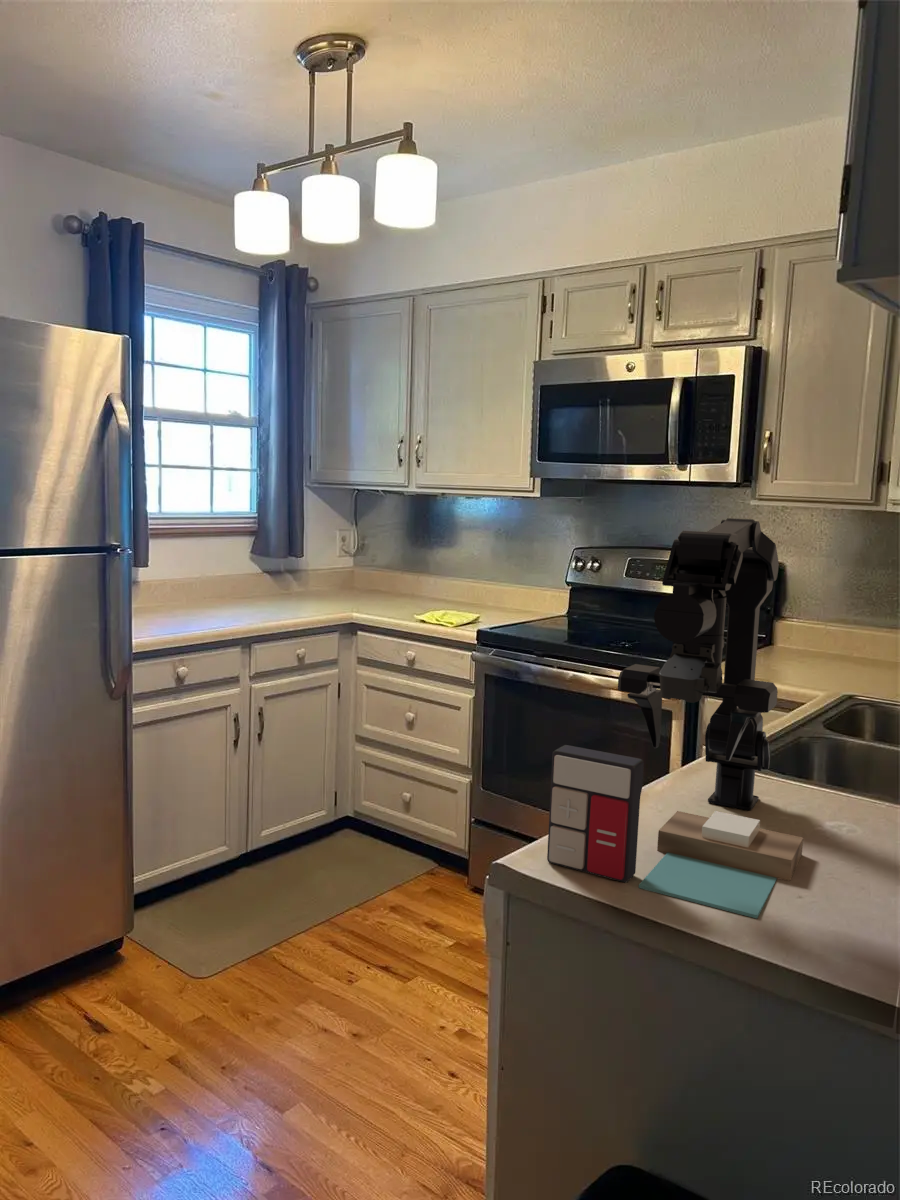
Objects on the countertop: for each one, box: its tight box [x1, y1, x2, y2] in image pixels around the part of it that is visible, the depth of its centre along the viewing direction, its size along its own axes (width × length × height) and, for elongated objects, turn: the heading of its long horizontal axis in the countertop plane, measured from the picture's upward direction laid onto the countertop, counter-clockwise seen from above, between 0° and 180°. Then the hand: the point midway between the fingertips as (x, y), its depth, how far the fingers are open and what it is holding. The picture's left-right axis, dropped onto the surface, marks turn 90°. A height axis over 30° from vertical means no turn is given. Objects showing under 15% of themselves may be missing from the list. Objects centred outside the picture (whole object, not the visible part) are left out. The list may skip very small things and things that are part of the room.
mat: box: [638, 852, 778, 919], centre depth 111 cm, size 12×14×1 cm
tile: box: [702, 810, 761, 847], centre depth 119 cm, size 7×6×2 cm
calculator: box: [546, 744, 645, 883], centre depth 113 cm, size 11×4×15 cm, turn 59°
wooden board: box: [656, 810, 804, 882], centre depth 120 cm, size 9×17×3 cm, turn 60°
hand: (691, 753), depth 113 cm, fingers open, 9 cm apart
